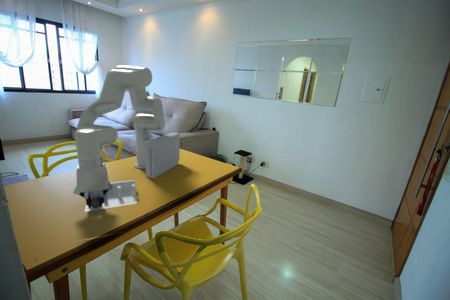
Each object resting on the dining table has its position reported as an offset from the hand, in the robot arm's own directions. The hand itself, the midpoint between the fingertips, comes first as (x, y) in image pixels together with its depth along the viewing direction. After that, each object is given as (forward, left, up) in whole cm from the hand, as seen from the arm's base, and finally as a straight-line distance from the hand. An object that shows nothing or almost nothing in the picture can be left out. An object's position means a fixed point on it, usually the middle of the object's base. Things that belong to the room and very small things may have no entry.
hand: (95, 205), depth 86 cm
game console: (-34, +32, -2) cm, 46 cm away
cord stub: (-4, 0, 0) cm, 4 cm away
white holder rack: (-7, +6, -2) cm, 9 cm away
